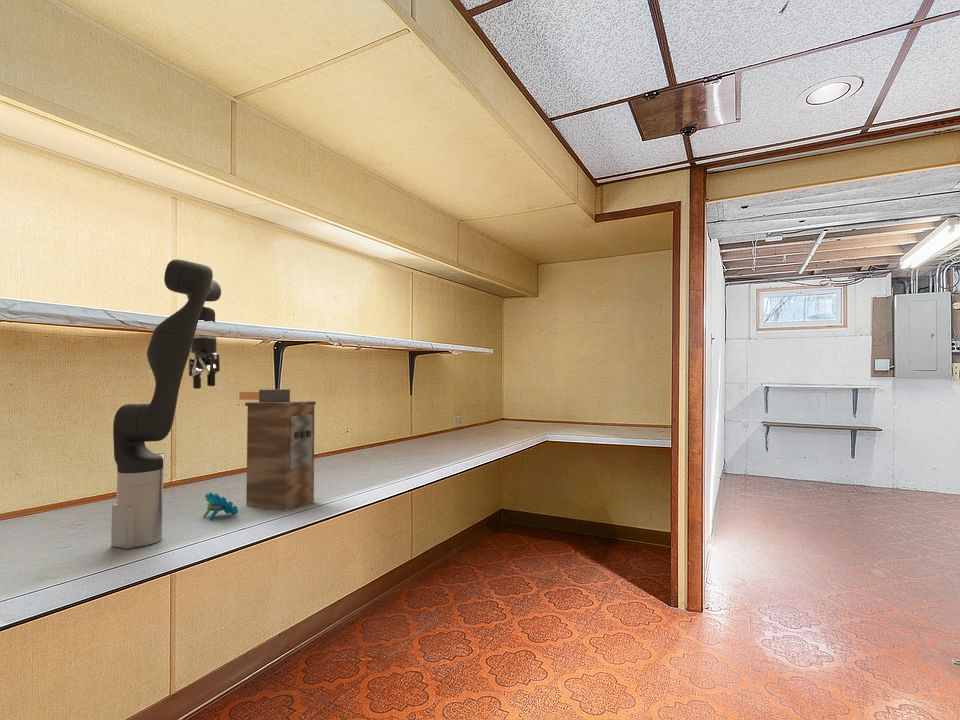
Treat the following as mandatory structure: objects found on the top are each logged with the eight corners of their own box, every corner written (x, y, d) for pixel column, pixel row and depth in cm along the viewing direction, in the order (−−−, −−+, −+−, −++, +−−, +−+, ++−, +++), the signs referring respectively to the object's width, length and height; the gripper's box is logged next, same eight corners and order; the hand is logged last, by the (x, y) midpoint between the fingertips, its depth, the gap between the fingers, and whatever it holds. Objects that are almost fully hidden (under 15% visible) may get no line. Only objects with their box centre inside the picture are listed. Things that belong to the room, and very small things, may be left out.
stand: (287, 511, 147) (288, 403, 149) (243, 505, 155) (245, 402, 156) (318, 501, 159) (318, 401, 161) (276, 497, 166) (277, 401, 168)
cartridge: (277, 402, 156) (277, 389, 156) (236, 401, 163) (236, 389, 163) (289, 401, 160) (289, 389, 161) (249, 401, 168) (249, 389, 168)
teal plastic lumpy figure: (246, 510, 142) (220, 490, 137) (233, 529, 138) (205, 508, 133) (225, 510, 148) (200, 491, 144) (212, 528, 144) (185, 509, 140)
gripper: (180, 341, 167) (180, 389, 164) (203, 334, 159) (204, 384, 157) (203, 343, 173) (203, 389, 171) (226, 336, 165) (227, 385, 163)
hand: (204, 387), depth 164 cm, fingers open, 8 cm apart
